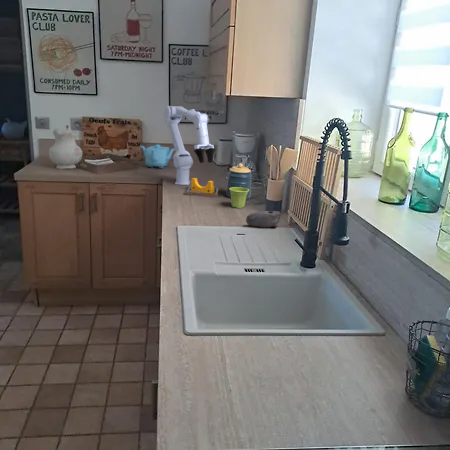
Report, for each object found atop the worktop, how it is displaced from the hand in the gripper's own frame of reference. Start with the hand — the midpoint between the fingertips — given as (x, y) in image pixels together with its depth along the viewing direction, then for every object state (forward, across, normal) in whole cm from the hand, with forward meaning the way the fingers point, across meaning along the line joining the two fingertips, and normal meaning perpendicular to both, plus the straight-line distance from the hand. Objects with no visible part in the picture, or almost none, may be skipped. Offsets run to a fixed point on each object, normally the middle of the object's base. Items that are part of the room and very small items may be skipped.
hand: (206, 162), depth 245 cm
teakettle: (-4, +30, +62) cm, 70 cm away
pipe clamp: (+15, +2, +6) cm, 16 cm away
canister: (+20, +6, -13) cm, 25 cm away
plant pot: (+24, -10, -23) cm, 35 cm away
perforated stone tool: (+33, -29, -46) cm, 64 cm away
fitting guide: (+15, -1, +4) cm, 16 cm away
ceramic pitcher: (-11, -14, +97) cm, 98 cm away
